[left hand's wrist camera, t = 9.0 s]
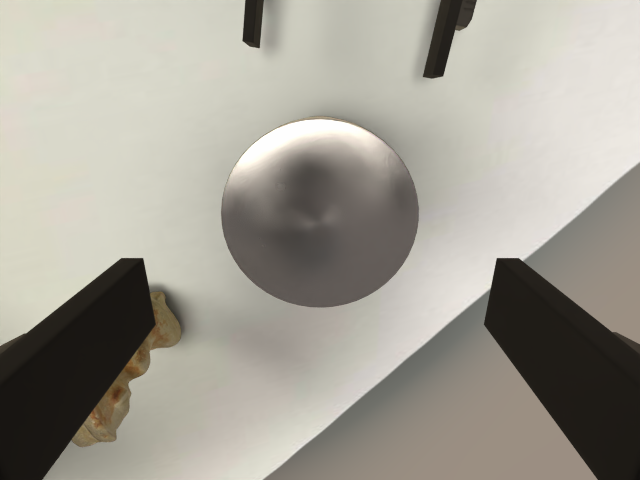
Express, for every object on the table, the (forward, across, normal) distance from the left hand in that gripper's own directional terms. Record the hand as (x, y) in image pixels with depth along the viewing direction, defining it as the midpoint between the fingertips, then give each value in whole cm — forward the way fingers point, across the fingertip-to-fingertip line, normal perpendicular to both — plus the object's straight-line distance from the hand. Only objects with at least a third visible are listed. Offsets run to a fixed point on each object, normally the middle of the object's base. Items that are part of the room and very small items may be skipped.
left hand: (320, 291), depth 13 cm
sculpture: (+24, -19, -16) cm, 35 cm away
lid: (+8, 0, 0) cm, 8 cm away
